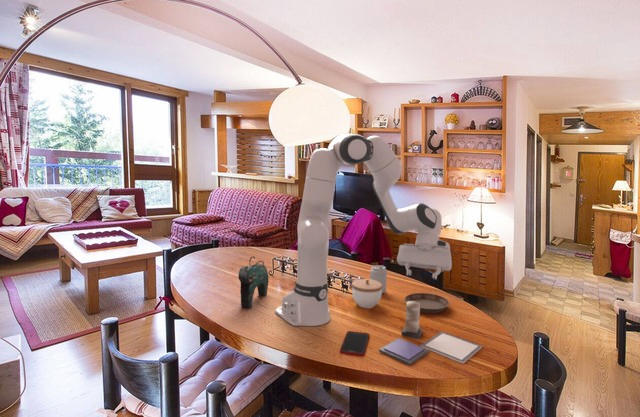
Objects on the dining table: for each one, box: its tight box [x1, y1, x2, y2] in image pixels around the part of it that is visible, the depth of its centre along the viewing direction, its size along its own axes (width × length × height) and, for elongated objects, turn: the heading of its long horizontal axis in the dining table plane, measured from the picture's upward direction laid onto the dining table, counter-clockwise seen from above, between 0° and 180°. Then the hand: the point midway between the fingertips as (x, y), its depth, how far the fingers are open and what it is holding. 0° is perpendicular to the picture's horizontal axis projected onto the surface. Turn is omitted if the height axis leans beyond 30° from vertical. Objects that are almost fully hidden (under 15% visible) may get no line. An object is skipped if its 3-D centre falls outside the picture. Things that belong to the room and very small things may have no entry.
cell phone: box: [339, 330, 370, 357], centre depth 122 cm, size 8×15×1 cm, turn 166°
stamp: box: [400, 301, 423, 340], centre depth 129 cm, size 6×6×11 cm
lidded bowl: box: [351, 278, 383, 309], centre depth 154 cm, size 13×13×11 cm
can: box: [369, 264, 388, 295], centre depth 169 cm, size 8×8×12 cm
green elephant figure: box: [238, 256, 269, 310], centre depth 156 cm, size 20×6×20 cm, turn 161°
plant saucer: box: [404, 292, 450, 314], centre depth 154 cm, size 18×18×3 cm
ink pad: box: [378, 337, 430, 366], centre depth 117 cm, size 11×11×1 cm
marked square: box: [420, 331, 483, 364], centre depth 120 cm, size 14×14×1 cm
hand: (421, 276), depth 138 cm, fingers open, 8 cm apart
